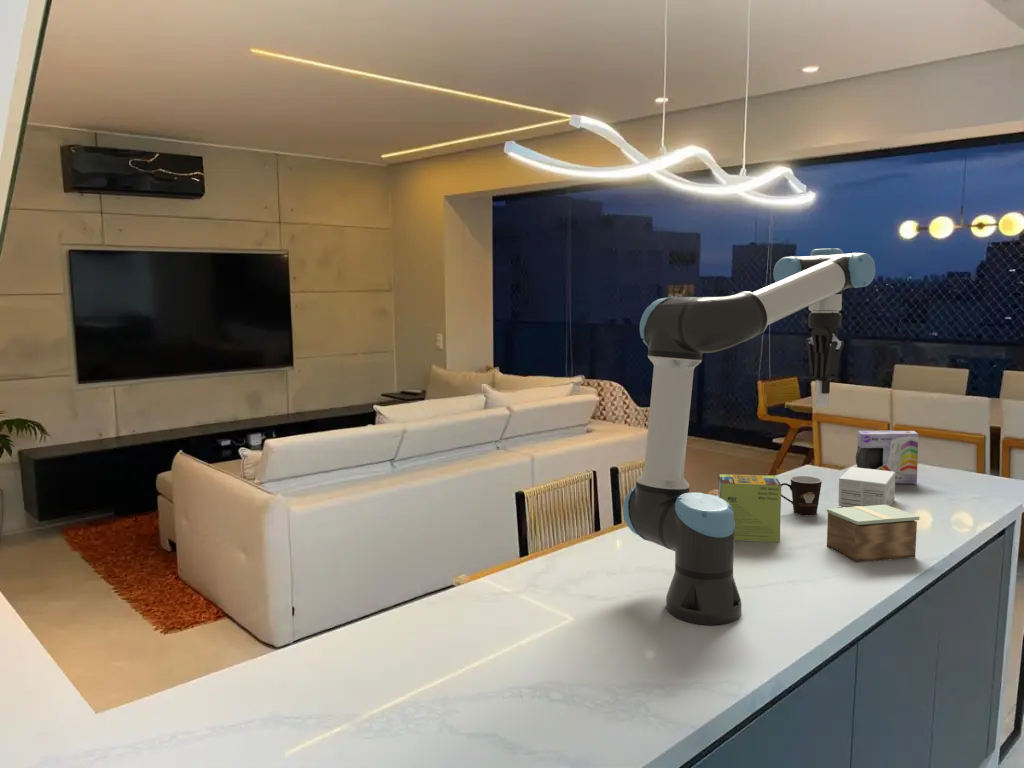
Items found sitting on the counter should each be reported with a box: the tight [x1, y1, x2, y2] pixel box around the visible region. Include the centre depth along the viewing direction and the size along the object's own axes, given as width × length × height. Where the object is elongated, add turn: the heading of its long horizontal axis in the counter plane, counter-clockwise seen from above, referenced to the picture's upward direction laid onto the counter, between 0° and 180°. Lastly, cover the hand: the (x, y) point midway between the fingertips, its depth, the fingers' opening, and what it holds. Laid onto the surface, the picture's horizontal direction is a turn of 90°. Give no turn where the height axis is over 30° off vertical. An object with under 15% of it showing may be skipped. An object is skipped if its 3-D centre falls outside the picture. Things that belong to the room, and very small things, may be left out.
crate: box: [826, 512, 918, 564], centre depth 186 cm, size 16×12×9 cm
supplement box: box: [838, 466, 896, 508], centre depth 228 cm, size 17×13×9 cm
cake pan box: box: [855, 430, 919, 484], centre depth 252 cm, size 19×5×18 cm, turn 81°
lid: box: [826, 505, 920, 525], centre depth 185 cm, size 17×12×1 cm
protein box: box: [717, 474, 782, 543], centre depth 200 cm, size 10×15×16 cm
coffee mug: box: [780, 475, 823, 517], centre depth 221 cm, size 12×9×10 cm
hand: (822, 405), depth 187 cm, fingers closed
